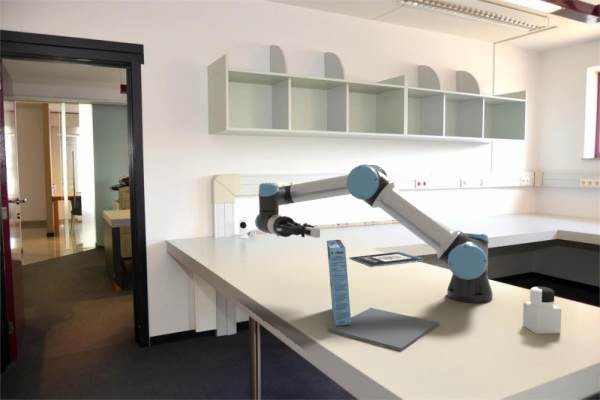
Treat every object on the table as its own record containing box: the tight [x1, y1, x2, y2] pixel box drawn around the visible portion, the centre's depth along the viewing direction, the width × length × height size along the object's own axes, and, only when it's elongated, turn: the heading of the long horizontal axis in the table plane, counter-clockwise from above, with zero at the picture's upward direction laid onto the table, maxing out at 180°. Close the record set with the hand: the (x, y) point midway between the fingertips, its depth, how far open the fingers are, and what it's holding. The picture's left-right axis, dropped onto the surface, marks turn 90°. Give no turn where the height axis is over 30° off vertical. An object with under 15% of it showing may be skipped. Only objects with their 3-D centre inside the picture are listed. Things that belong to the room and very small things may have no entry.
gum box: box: [326, 239, 352, 326], centre depth 140 cm, size 20×5×23 cm, turn 179°
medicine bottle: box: [522, 286, 562, 335], centre depth 128 cm, size 7×7×12 cm
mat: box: [327, 307, 439, 352], centre depth 131 cm, size 23×24×1 cm
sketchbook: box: [349, 251, 424, 268], centre depth 227 cm, size 22×30×2 cm
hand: (318, 233), depth 148 cm, fingers closed
